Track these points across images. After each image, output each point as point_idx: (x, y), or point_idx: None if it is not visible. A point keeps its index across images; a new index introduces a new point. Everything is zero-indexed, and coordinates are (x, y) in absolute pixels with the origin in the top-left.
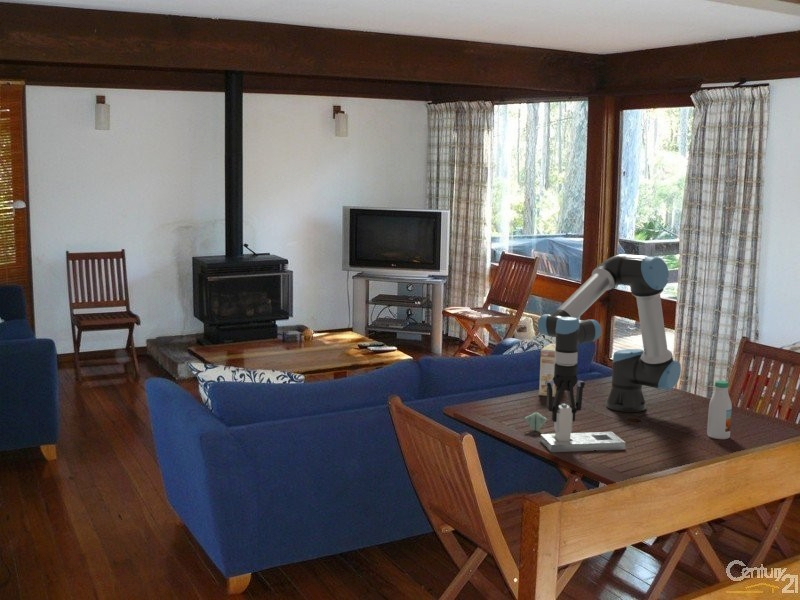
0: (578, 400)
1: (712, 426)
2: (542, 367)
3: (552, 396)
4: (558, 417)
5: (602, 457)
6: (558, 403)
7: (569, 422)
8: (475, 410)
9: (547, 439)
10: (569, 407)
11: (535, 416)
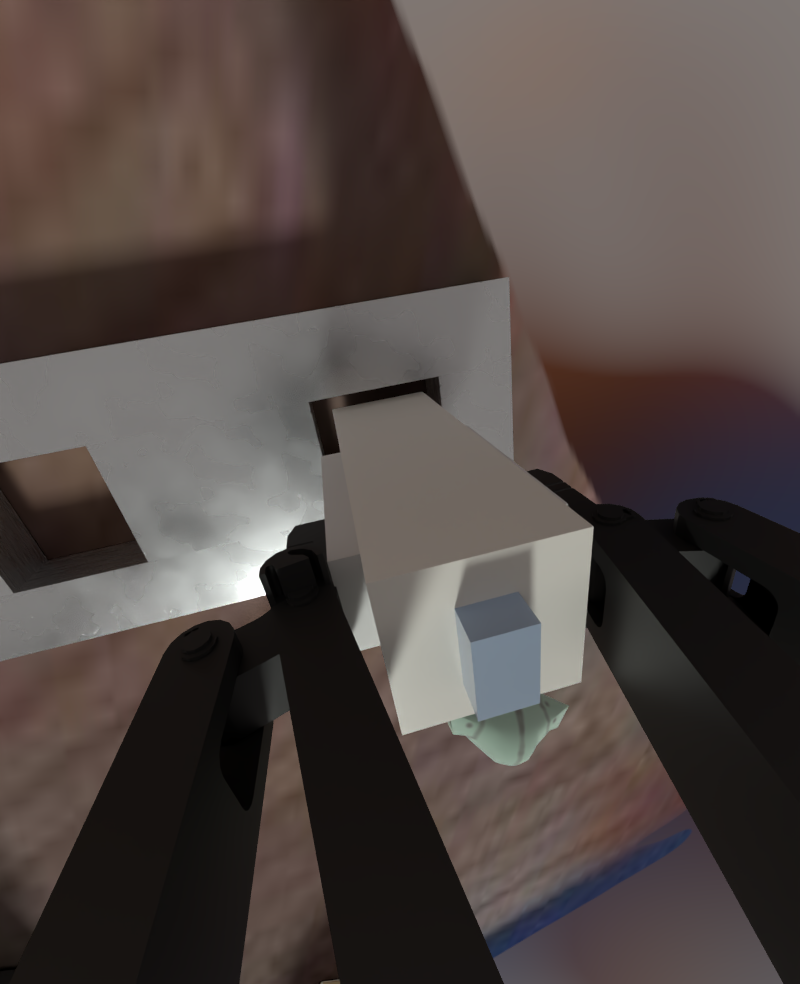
0: (177, 831)
1: None
2: None
3: (328, 981)
4: None
5: (32, 116)
6: (676, 617)
7: (363, 464)
8: (629, 805)
9: (500, 424)
10: (403, 610)
11: (522, 722)
